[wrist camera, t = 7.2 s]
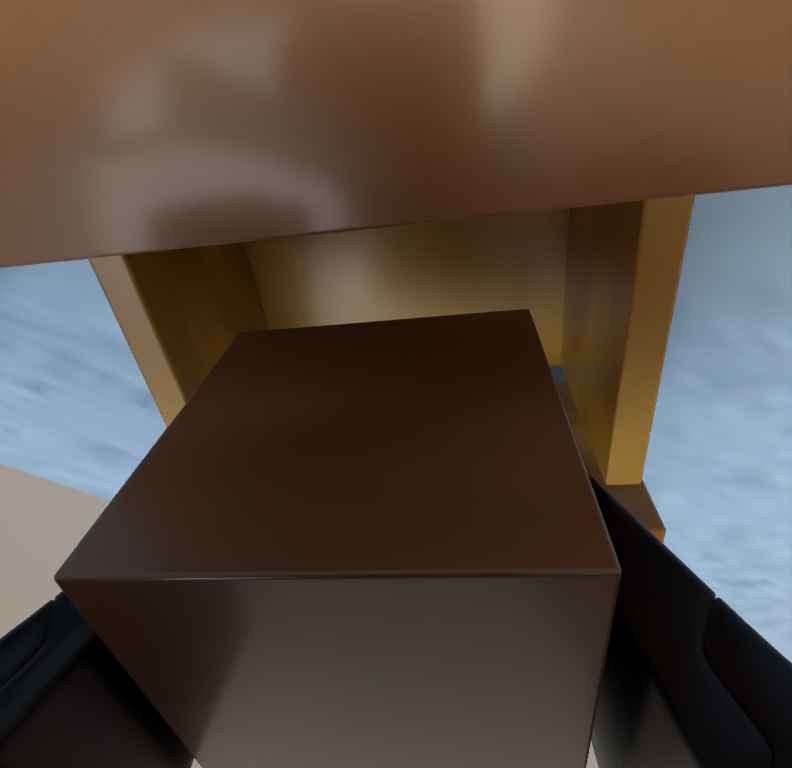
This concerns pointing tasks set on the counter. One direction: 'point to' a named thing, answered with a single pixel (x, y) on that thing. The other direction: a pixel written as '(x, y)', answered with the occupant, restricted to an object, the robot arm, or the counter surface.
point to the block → (363, 555)
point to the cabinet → (371, 114)
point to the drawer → (439, 306)
